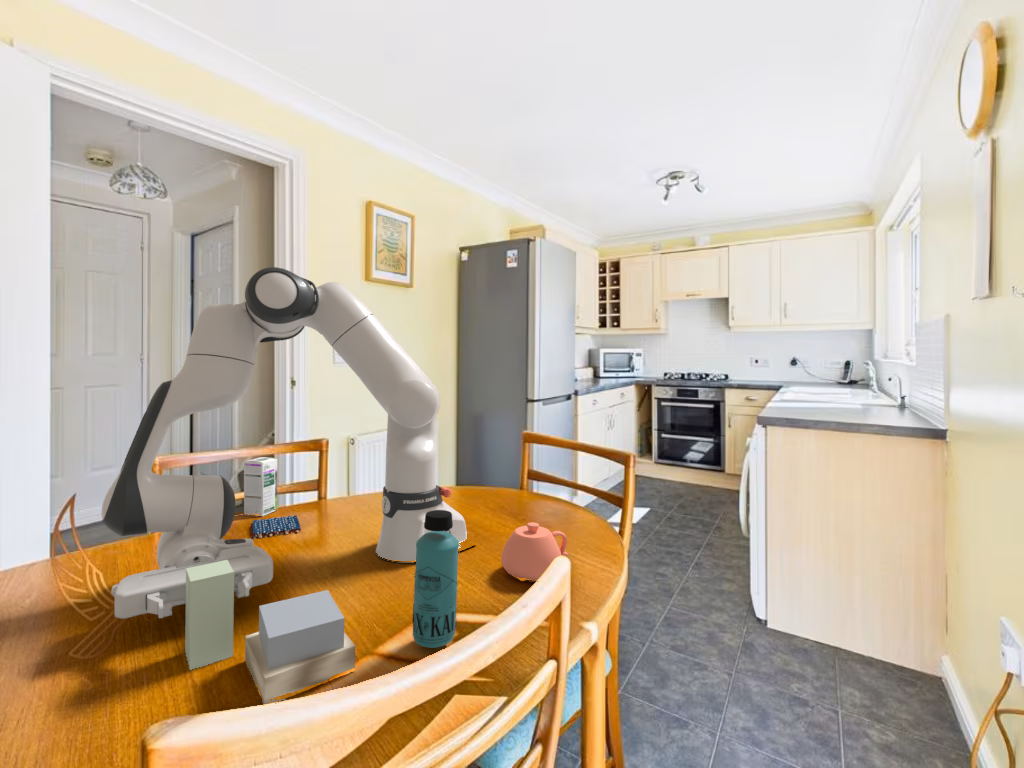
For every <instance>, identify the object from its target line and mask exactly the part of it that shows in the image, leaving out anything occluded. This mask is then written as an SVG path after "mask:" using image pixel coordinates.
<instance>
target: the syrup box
mask: <svg viewBox="0 0 1024 768" xmlns="http://www.w3.org/2000/svg"><path fill="white" fill-rule="evenodd" d="M243 506H244V507H243V512H244V513H243V514H244V515H245V516H247V515H246V514H250V515H255V514H259V516H263V517H265V516H267V515H269V514H271V513H274V512H277V511H276V510H273V509H277V510H278V458H275V457H267V456H264V457H263V456H262V457H261V456H259V457H257V458H256V457H255V458H253V459H248V460H245V461H244V462H243ZM267 510H268V511H267ZM270 510H271V511H270ZM258 512H259V513H258ZM252 513H255V514H252Z"/></svg>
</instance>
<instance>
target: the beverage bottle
mask: <svg viewBox="0 0 1024 768" xmlns="http://www.w3.org/2000/svg"><path fill="white" fill-rule="evenodd" d="M452 527H453V522H452V513H451V512H449V511H446V510H433V511H429V512H427V513H426V515H425V523H424V528H425V529H427V530H430V531H431V532H427V533H425V534H424V535H423V536H422V537H420V538H419V539H418V541H417V542H416V563H415V570H414V573H413V575H414V585H413V592H412V594H413V595H412V596H413V597H412V598H413V599H412V602H413V604H412V620H411V621H412V623H411V624H412V625H411V627H412V630H411V632H412V637H413V641H414V642H415V643H416V644H417V645H419V646H421V647H424V648H433V649H434V648H441V647H444V646H446V645H448V644H450V643H451V642H452V640H454V637H455V634H456V631H457V623H458V622H457V620H458V616H457V602H458V598H457V597H458V594H459V593H458V585H459V583H458V570H459V569H458V566H459V553H458V547H459V542H458V540H457V539H456V538H455V537H454V536H453V535H452V534H451V533H449V532H445V531H446V530H449V529H451V528H452Z"/></svg>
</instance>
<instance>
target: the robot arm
mask: <svg viewBox="0 0 1024 768" xmlns="http://www.w3.org/2000/svg"><path fill="white" fill-rule="evenodd" d="M244 291H245V292H244V299H245V301H243V302H240V303H235V304H232V303H224V302H223V303H219V302H218V303H213V304H212V303H211V304H210V305H208V306H206V307H204V308H203V309H202V310H201V311H200V313H199V315H198V317H197V320H196V322H195V324H194V327H193V330H192V333H191V336H190V339H189V343H188V347H187V352H186V356H185V361H184V363H183V366H182V367H181V369H180V371H179V372H178V374H177V375H175V377H174V378H173V379H171V380H167V381H163V382H162V383H160V385H159V386H158V387H157V389H156V390H155V392H154V393H153V395H152V397H151V400H150V401H149V404H148V406H147V408H146V410H145V412H144V414H143V415H142V417H141V421H140V423H139V424H138V428H137V430H136V432H135V434H134V437H133V438H132V442H131V443H130V445H129V446H130V447H129V448H128V451H127V454H126V457H125V458H124V461H123V464H122V467H121V469H120V471H119V473H118V474H117V477H116V478H115V480H114V481H113V482H112V484H111V485H110V486H109V487H110V488H109V489H108V491H107V492H106V495H105V496H104V500H103V502H102V506H101V518H102V522H101V523H102V524H103V525H105V526H106V527H107V528H108V529H109V530H110V531H111V532H113V533H115V534H117V535H118V536H121V537H128V536H137V535H144V534H145V535H147V534H148V533H161V535H160V538H159V540H158V543H157V548H156V561H157V564H158V567H159V568H158V569H157V568H156V569H153V570H147V571H144V572H142V571H141V572H139V573H138V572H137V573H133V574H130V575H128V576H125V577H123V578H122V579H120V581H119V583H116V584H114V585H112V588H111V589H110V590H111V591H110V593H111V595H112V597H114V606H113V607H114V611H113V612H114V617H115V618H117V619H122V620H123V619H128V618H133V617H137V616H140V615H144V614H151V615H152V614H153V615H157V616H158V617H157V618H158V619H163V618H167V617H170V616H173V610H172V609H173V607H176V606H177V607H178V606H181V605H186V568H190V567H195V566H199V565H204V564H209V563H214V562H219V561H223V560H228V562H229V563H230V565H231V567H232V569H233V571H234V592H235V596H236V598H237V599H240V598H241V599H242V598H244V597H249V596H250V590H251V588H255V587H258V586H261V585H267V584H268V583H270V582H272V580H273V578H274V560H273V558H272V557H271V556H270V554H269V553H267V551H265V550H264V549H263V548H262V547H259V546H256V545H255V544H254V539H252V538H236V539H234V538H232V539H223V538H224V537H225V536H226V535H227V533H228V532H229V531H230V529H231V527H232V526H233V525H232V523H233V521H234V518H235V512H236V495H235V491H234V489H233V487H232V486H231V484H230V483H229V481H227V479H226V478H224V477H223V476H222V475H207V474H206V475H203V474H201V475H200V474H197V475H196V474H192V475H186V474H159V473H155V472H154V471H153V470H152V469H153V465H154V463H155V462H156V459H157V456H158V454H159V451H160V449H161V446H162V444H163V441H164V438H165V437H166V433H167V431H168V429H170V427H171V426H172V424H174V423H175V422H176V421H178V420H180V419H181V418H184V417H187V416H189V415H192V414H193V415H194V414H196V413H202V412H207V411H211V410H216V409H220V408H224V407H227V406H229V405H232V404H234V403H236V402H238V401H239V400H241V399H242V398H243V397H244V396H245V395H246V394H247V392H248V391H249V389H250V386H251V382H252V379H253V374H254V370H255V362H256V356H257V350H258V347H259V344H260V343H269V342H278V341H285V340H290V339H293V338H294V337H296V336H298V335H299V334H301V333H302V331H303V330H304V329H305V327H308V328H311V329H313V330H314V331H317V332H318V333H319V335H322V336H323V338H324V340H326V341H327V343H328V344H329V345H330V346H331V347H332V349H334V351H335V352H336V353H337V354H338V356H340V357H341V359H342V360H343V361H344V362H345V363H346V364H347V365H348V367H349V368H350V370H352V371H353V372H354V373H355V375H356V376H357V377H358V378H359V380H360V381H361V382H362V383H363V385H364V386H365V387H366V389H367V390H368V391H369V392H370V394H371V395H372V396H373V397H374V399H375V400H376V401H377V402H378V404H379V405H380V406H381V407H382V408H383V410H384V411H385V412H386V413H387V424H386V425H387V429H386V446H385V447H386V448H385V473H384V474H385V479H384V480H385V481H384V486H383V487H382V500H381V503H382V504H381V505H382V523H381V530H380V534H379V538H378V543H377V545H376V547H375V548H376V549H375V554H376V553H377V554H378V555H377V554H376V555H377V556H378V557H379V556H380V557H379V558H381V557H382V558H381V559H383V558H385V559H389V560H397V561H398V560H399V561H412V560H413V561H415V560H416V542H417V541H418V539H419V538H420V537H422V536H423V535H424V534H425V533H427V532H431V531H430V530H427V529H425V528H424V523H425V515H426V513H427V512H429V511H433V510H446V511H449V512H451V513H452V522H453V527H452V528H451V529H449V530H446V531H445V532H449V533H451V534H452V535H453V536H454V537H455V538H456V539H457V540H458V542H459V543H461V542H463V541H465V540H466V539H467V532H468V531H467V525H466V521H465V518H464V516H463V515H462V514H461V513H460V512H458V511H457V510H455V509H454V508H453V507H451V505H449V504H448V503H446V502H445V501H444V500H443V497H444V498H446V499H447V498H451V495H452V493H453V492H452V490H451V489H450V488H448V487H446V486H443V487H441V486H439V485H437V465H438V464H437V463H438V434H437V433H438V432H437V431H438V430H437V429H438V428H437V423H438V422H437V421H438V419H437V418H438V416H437V415H438V413H439V411H440V408H441V395H440V393H439V390H438V388H437V387H436V385H435V384H434V383H433V382H432V381H431V380H430V378H429V377H428V376H427V375H426V373H424V371H423V370H422V369H421V368H420V366H419V365H418V364H417V363H416V362H415V361H414V360H413V358H412V357H411V356H410V355H409V354H408V353H407V352H406V350H405V349H404V348H403V347H402V346H401V345H400V342H398V341H397V340H396V339H395V338H394V336H393V335H392V334H391V333H390V332H389V330H387V328H386V327H385V326H384V324H383V323H382V322H381V321H380V320H379V319H378V318H377V316H376V315H375V314H374V313H373V312H372V311H371V310H370V308H369V307H368V306H367V305H366V304H365V303H364V302H363V301H362V300H361V299H360V298H359V297H358V296H357V295H356V294H354V293H353V292H352V291H351V290H350V289H348V288H347V287H346V286H345V285H343V284H342V283H340V282H334V281H332V282H326V283H323V284H321V285H319V286H316V285H315V283H314V282H313V281H311V280H308V279H306V278H303V276H302V277H301V276H299V275H298V274H296V273H294V272H292V271H289V270H288V269H285V268H280V267H274V266H273V267H265V268H263V269H260V270H257V271H256V272H255V273H254V274H253V275H252V276H251V277H250V278H249V280H248V282H247V283H246V286H245V290H244ZM459 545H460V544H459ZM460 546H461V545H460ZM460 546H459V547H458V549H459V548H461V547H460ZM385 559H384V560H385ZM389 560H388V561H389Z"/></svg>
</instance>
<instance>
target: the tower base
mask: <svg viewBox="0 0 1024 768" xmlns="http://www.w3.org/2000/svg"><path fill="white" fill-rule="evenodd" d="M244 639H245V641H244V642H245V643H244V647H245V648H244V662H245V661H246V663H247V665H246V667H247V666H248V667H247V669H248V668H249V670H248V672H249V671H250V672H249V674H250V673H251V674H250V676H251V675H252V677H253V679H252V681H253V680H254V682H255V684H256V685H257V687H258V689H259V691H260V694H261V697H262V699H263V701H261V702H262V705H263V704H266V703H270V702H275V701H280V702H282V701H281V700H283V701H285V700H286V699H279V700H274V699H273V698H276V697H278V696H282V695H285V694H287V693H291V692H292V693H294V692H295V691H298V690H301V689H304V688H305V687H308V686H312V685H315V684H318V683H321V682H324V681H326V680H328V679H330V678H331V677H332V676H334V675H336V674H340V673H343V672H345V671H348V670H350V669H352V668H355V669H356V645H355V643H354V642H353V641H352V640H351V638H350V637H349V636H348V634H347V633H346V632H345V631H344V648H340V649H337V650H334V651H330V652H327V653H324V654H321V655H317V656H314V657H311V658H307V659H304V660H301V661H298V662H294V663H291V664H288V665H284V666H281V667H278V668H274V669H271V670H268V667H267V664H266V660H265V656H264V652H263V648H262V644H261V640H260V637H259V631H256V632H253V633H251V634H246V635H245V636H244ZM246 663H245V664H246ZM252 677H251V678H252ZM254 682H253V683H254ZM255 684H254V685H255ZM270 699H272V701H271V700H270Z"/></svg>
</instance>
